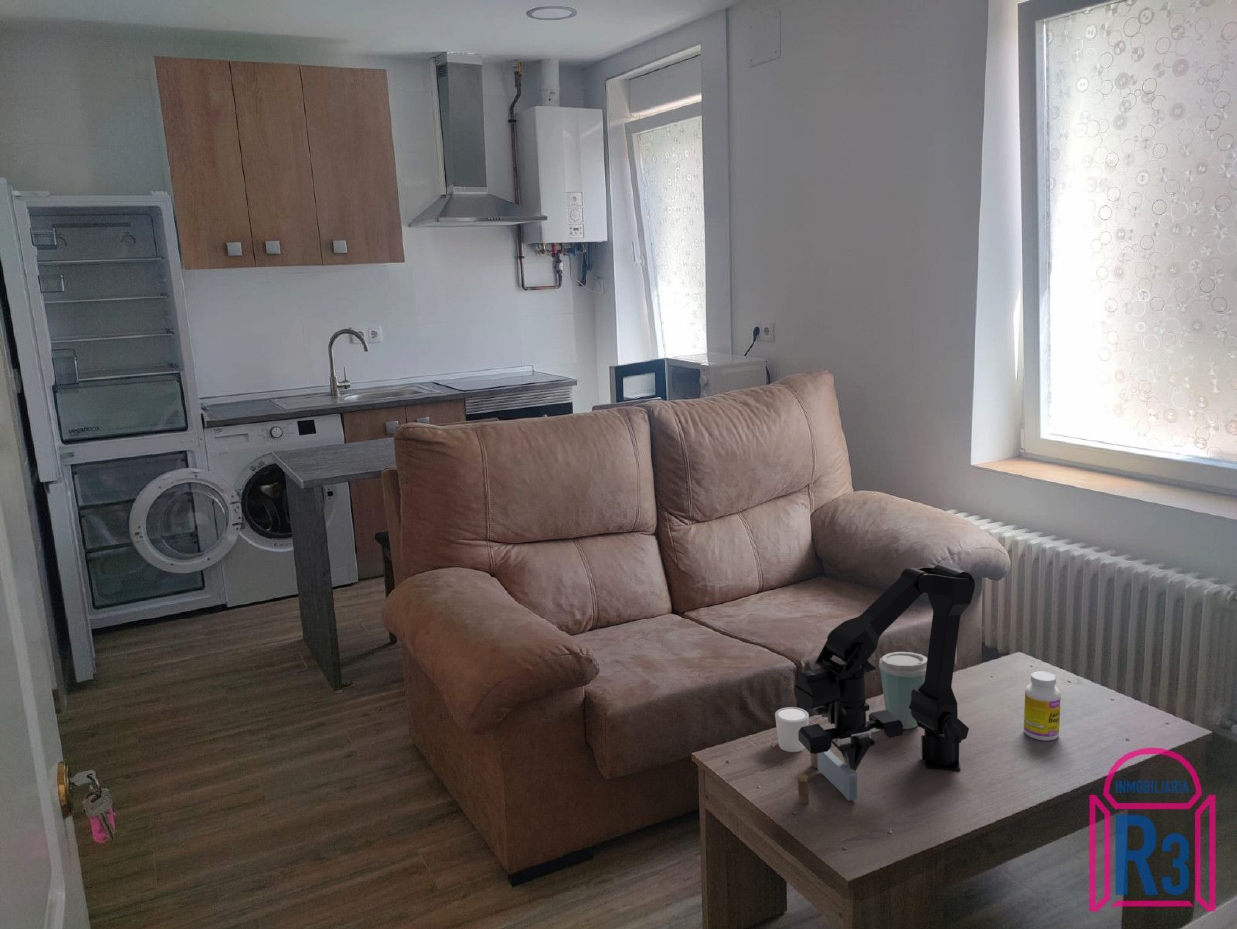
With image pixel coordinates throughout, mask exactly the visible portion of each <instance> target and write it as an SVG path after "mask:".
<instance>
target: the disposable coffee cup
mask: <svg viewBox="0 0 1237 929" xmlns="http://www.w3.org/2000/svg"><path fill="white" fill-rule="evenodd" d="M927 658H928V656H925V655H923V654H921V653H916V652H911V651H910V652H909V651H908V652H907V651H895V652H889V653H886V654H885V655H883V656H882V657H881V658H879V662H878V668H879V670H880V678H881V685H882V686H881V687H882V694H883V702H884V710H888V711H889V712H890V713H891V714H893V715H894V716H895V717H896V718H897V719H899V720H900V721H901V722H902V725H903V730H910V729H914V728H916V727H917V726H918V725H917V722H916V720H915V719H914V718H913V717H912V715H911V709H909V706H910V703H911V692H912V690H913V689H916V690H918V689H919V688H920V686H921V685H922V684H923V683H924V681H925V674H926V666H927Z"/></svg>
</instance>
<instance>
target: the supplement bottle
mask: <svg viewBox="0 0 1237 929" xmlns="http://www.w3.org/2000/svg"><path fill="white" fill-rule="evenodd" d="M1030 682H1031V683H1029V684H1027V686H1026V687H1025V689H1024V710H1023V711H1024V712H1023V731H1024V733H1025V735H1027V736H1028V737H1029V738H1032V739H1034V740H1038V741H1045V742H1046V741H1048V742H1049V741H1054V740H1055V739H1057V738H1058V737H1059V736H1060V721H1061V720H1060V719H1061V718H1060V716H1061V698H1062V697H1061V695H1062V694H1061V691H1060V689H1058V687H1057V686H1056V684H1057V677H1056V675H1054V674H1053V673H1052V672H1048V671H1041V670H1039V671H1034V672H1032V673H1031V674H1030Z"/></svg>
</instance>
